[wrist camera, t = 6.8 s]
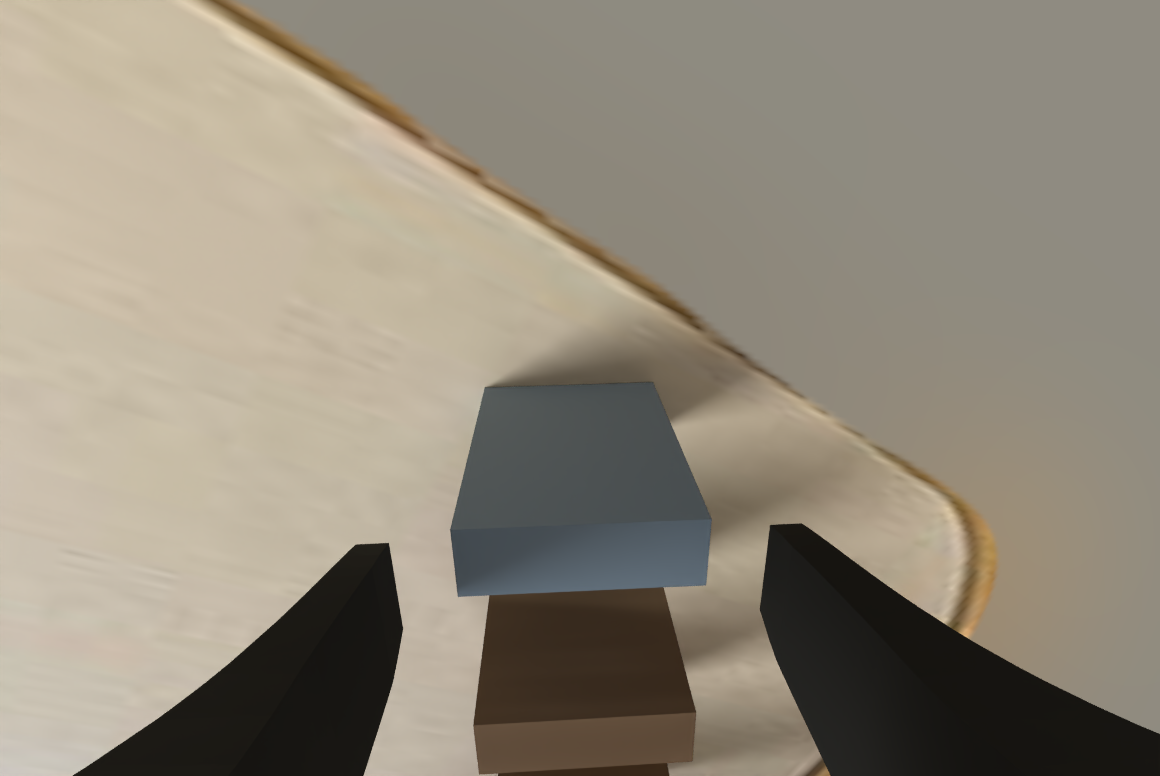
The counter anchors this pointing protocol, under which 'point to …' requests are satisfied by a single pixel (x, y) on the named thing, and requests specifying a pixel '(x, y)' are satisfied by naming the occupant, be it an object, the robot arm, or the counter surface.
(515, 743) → the domino
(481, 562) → the end domino
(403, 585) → the counter surface
